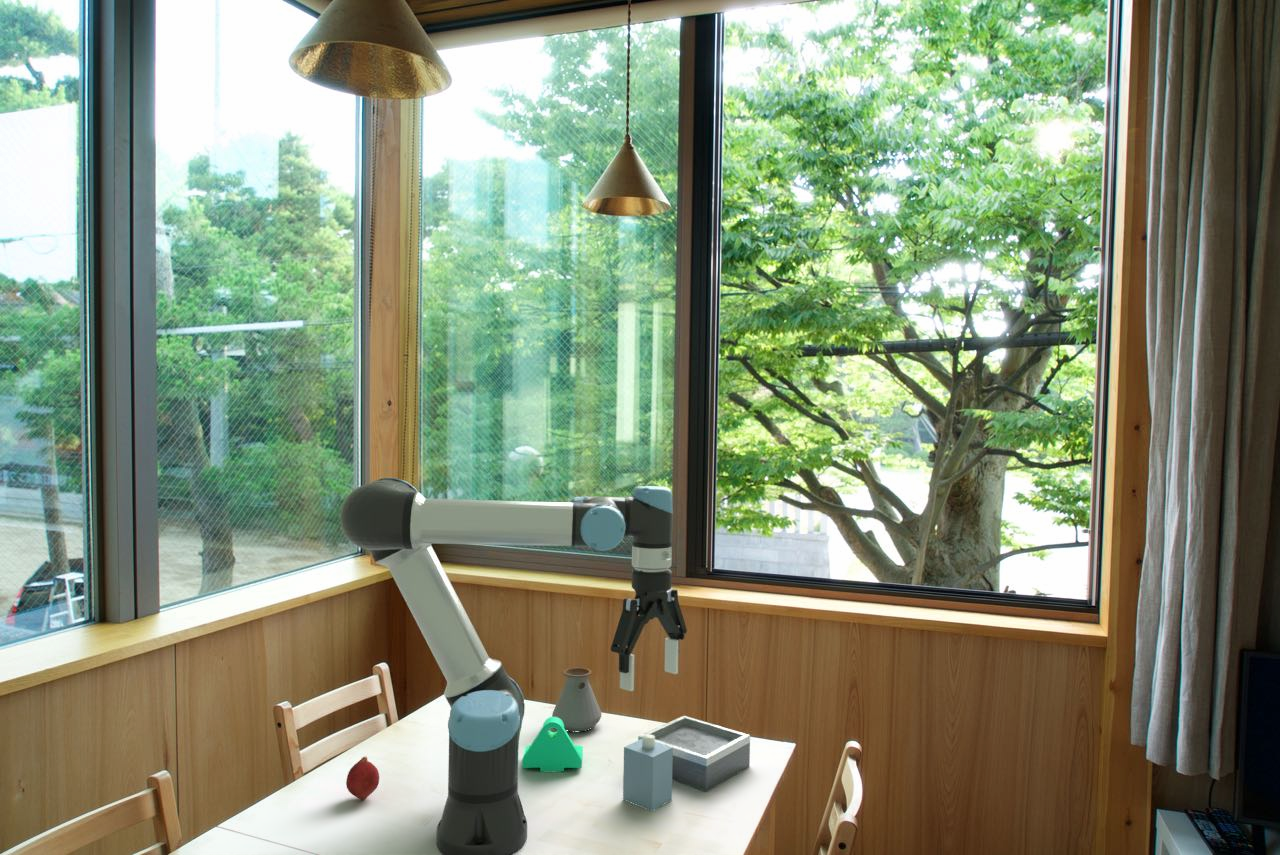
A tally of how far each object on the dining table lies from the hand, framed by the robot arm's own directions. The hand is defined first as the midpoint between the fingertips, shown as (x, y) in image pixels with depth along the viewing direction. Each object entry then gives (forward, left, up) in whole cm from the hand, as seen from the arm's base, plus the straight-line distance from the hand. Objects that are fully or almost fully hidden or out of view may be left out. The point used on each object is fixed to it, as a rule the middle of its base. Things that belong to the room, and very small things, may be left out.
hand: (649, 680), depth 156 cm
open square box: (+18, +2, -22) cm, 29 cm away
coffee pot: (+15, +32, -23) cm, 42 cm away
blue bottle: (0, 0, -22) cm, 23 cm away
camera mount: (0, +25, -23) cm, 34 cm away
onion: (-35, +40, -23) cm, 58 cm away
